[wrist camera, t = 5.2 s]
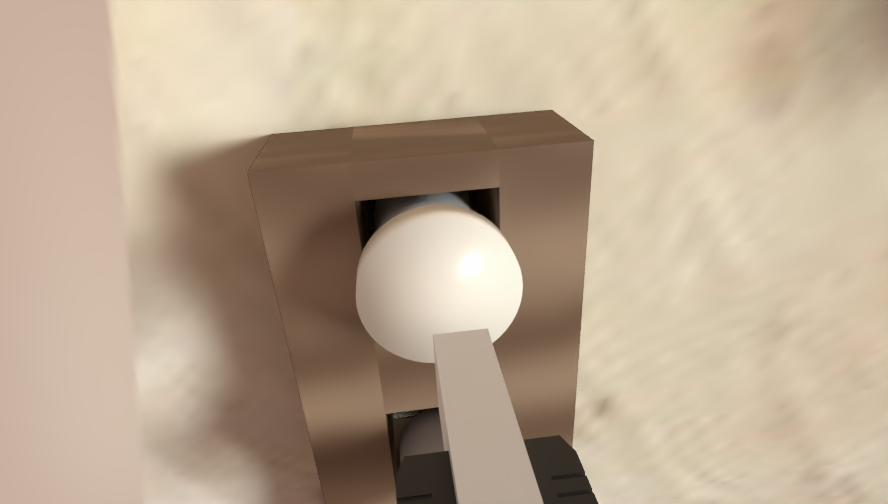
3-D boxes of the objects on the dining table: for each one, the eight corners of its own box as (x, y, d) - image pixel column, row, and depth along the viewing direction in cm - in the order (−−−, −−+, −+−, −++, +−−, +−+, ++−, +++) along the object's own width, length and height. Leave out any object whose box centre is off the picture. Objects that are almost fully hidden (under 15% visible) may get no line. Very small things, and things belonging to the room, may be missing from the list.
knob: (486, 262, 26) (522, 353, 19) (368, 275, 25) (367, 371, 19) (483, 148, 23) (523, 209, 17) (352, 160, 23) (344, 228, 16)
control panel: (537, 529, 36) (561, 605, 32) (359, 555, 35) (357, 638, 31) (552, 109, 23) (593, 140, 19) (271, 134, 22) (247, 172, 18)
